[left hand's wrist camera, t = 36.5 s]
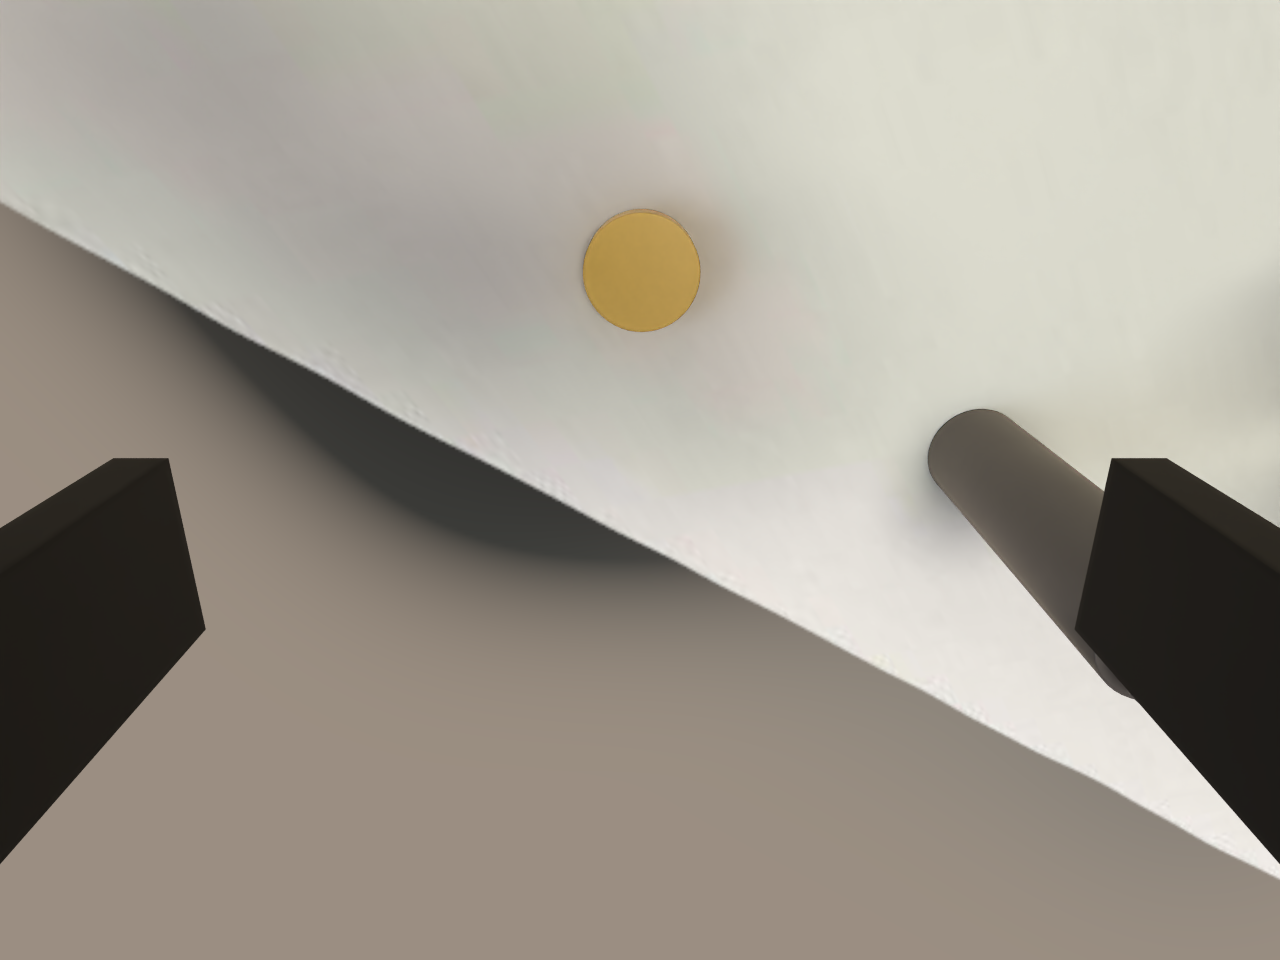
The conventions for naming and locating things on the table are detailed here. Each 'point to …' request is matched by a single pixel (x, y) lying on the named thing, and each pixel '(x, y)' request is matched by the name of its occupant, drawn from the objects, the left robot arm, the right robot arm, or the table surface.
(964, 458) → the grey cylindrical bottle
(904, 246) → the table surface
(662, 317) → the lid
